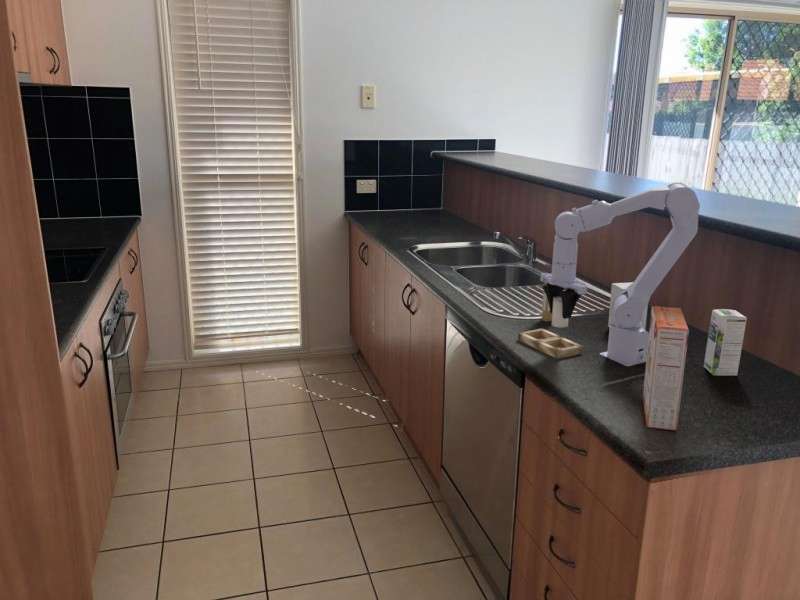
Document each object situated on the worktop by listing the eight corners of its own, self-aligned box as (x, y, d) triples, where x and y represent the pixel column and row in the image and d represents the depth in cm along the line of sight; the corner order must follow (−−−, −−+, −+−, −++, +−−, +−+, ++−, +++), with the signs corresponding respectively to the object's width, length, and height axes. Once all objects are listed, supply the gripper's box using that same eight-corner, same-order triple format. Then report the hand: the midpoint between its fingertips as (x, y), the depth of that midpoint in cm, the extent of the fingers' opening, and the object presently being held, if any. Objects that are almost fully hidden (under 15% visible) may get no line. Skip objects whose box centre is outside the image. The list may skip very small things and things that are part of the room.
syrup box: (702, 366, 157) (710, 308, 153) (727, 366, 157) (736, 309, 153) (712, 376, 152) (721, 316, 147) (738, 376, 151) (748, 316, 147)
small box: (633, 325, 186) (638, 281, 183) (645, 333, 180) (650, 287, 177) (607, 327, 185) (611, 282, 181) (617, 334, 179) (622, 288, 175)
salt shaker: (571, 326, 163) (573, 299, 161) (559, 328, 161) (560, 301, 159) (560, 321, 166) (562, 294, 164) (547, 323, 165) (549, 297, 163)
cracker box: (640, 398, 140) (651, 304, 134) (670, 402, 138) (682, 307, 132) (643, 428, 127) (655, 325, 121) (677, 432, 125) (691, 328, 119)
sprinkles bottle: (554, 323, 188) (557, 278, 184) (539, 321, 190) (542, 276, 187) (559, 319, 192) (562, 274, 188) (544, 316, 194) (546, 272, 190)
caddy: (582, 355, 164) (582, 346, 163) (557, 361, 160) (558, 351, 160) (541, 337, 177) (542, 328, 176) (517, 341, 174) (518, 332, 173)
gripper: (532, 257, 164) (529, 309, 167) (572, 270, 151) (568, 325, 155) (554, 254, 167) (550, 306, 171) (595, 266, 154) (590, 321, 158)
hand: (560, 315), depth 163 cm, fingers closed on salt shaker, 4 cm apart
